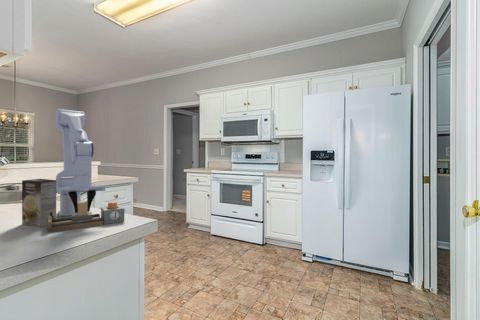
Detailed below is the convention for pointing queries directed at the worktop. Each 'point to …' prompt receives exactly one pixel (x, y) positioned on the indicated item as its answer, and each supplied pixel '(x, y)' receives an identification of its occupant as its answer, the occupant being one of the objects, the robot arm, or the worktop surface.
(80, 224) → the track
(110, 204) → the button
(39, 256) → the worktop surface
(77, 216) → the carriage
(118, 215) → the end cabinet
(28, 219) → the coffee box
